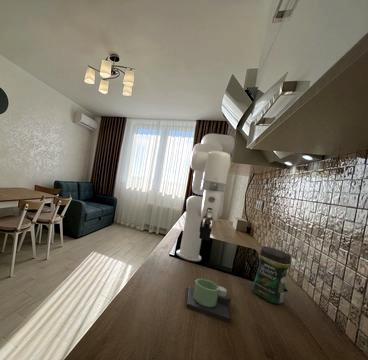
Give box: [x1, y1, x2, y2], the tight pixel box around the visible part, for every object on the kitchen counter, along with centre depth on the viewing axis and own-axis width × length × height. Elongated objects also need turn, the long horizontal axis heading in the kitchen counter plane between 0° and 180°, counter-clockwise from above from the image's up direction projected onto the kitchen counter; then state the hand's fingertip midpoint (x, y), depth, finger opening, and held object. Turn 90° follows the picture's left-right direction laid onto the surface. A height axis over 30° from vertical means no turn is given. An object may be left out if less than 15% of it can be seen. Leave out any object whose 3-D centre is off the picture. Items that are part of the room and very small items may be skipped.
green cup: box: [193, 278, 219, 307], centre depth 68 cm, size 7×7×6 cm
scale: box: [186, 285, 232, 323], centre depth 69 cm, size 13×13×3 cm
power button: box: [218, 285, 228, 297], centre depth 71 cm, size 3×3×2 cm
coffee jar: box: [251, 245, 292, 305], centre depth 80 cm, size 10×8×19 cm
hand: (203, 235), depth 75 cm, fingers open, 9 cm apart
